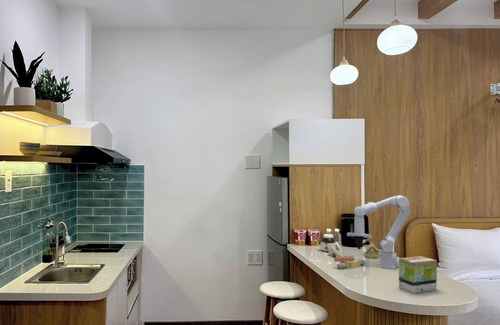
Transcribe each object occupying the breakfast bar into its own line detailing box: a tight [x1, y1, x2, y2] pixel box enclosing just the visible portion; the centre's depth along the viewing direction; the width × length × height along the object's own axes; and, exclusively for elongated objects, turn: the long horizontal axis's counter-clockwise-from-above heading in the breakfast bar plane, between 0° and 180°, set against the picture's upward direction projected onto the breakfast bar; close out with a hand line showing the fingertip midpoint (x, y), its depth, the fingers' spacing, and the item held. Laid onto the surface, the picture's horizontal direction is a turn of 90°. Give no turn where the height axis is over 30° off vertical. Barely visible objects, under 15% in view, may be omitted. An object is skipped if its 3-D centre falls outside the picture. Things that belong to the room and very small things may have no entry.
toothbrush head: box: [328, 247, 349, 258], centre depth 242 cm, size 5×7×25 cm
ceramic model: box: [363, 241, 381, 259], centre depth 250 cm, size 14×11×10 cm
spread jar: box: [320, 233, 341, 254], centre depth 265 cm, size 12×11×12 cm
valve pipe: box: [336, 258, 366, 270], centre depth 222 cm, size 20×6×4 cm, turn 120°
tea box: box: [398, 255, 438, 294], centre depth 182 cm, size 15×10×15 cm
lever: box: [333, 255, 355, 262], centre depth 221 cm, size 12×3×2 cm, turn 107°
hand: (359, 248), depth 227 cm, fingers closed
